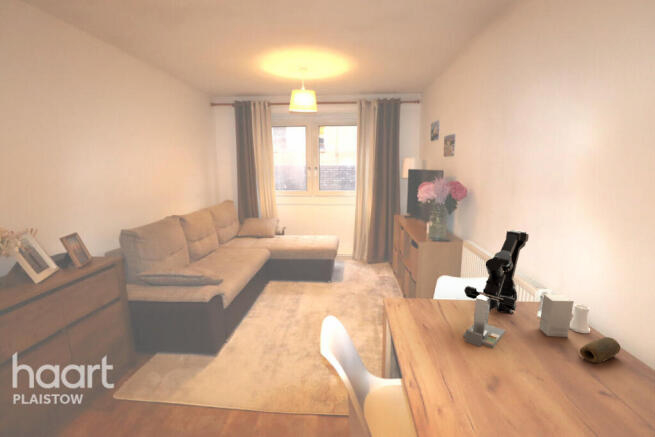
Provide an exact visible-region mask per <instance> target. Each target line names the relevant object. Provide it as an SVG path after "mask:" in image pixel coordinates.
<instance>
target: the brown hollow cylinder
mask: <svg viewBox="0 0 655 437" xmlns="http://www.w3.org/2000/svg"><path fill="white" fill-rule="evenodd" d="M620 351H621V344H620V343H619V342H618V341H617V339H615V338H613V337H608V336H605V337H601V338H598V339H596V340H594V341H591V342H589V343H587V344H585V345H583V346H582V347H580V350H579V353H580V355H581V357H582V358H583V359H585V360H586V361H588V362H590V363H593V364H594V363H595V364H596V363H597V364H598V363H601V362H603V361H606V360H609V359H611V358H613V357H615V356H616V355H617V354H619V353H620Z"/></svg>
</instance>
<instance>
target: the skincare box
mask: <svg viewBox="0 0 655 437" xmlns="http://www.w3.org/2000/svg"><path fill="white" fill-rule="evenodd" d="M542 297H543V299H542V306H541V312H540V320H539V326H538V329H539V330H540V331H541V332H542V333H543V334H545V335H546V336H547V337H560V338H561V337H563V338H568V337H569V332H570V328H569V327H570V321H571V320H572V313H573V306H574V300H573V299H571V298H569V297H567V296H566V295H564V294H546V293H543V296H542Z"/></svg>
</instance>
